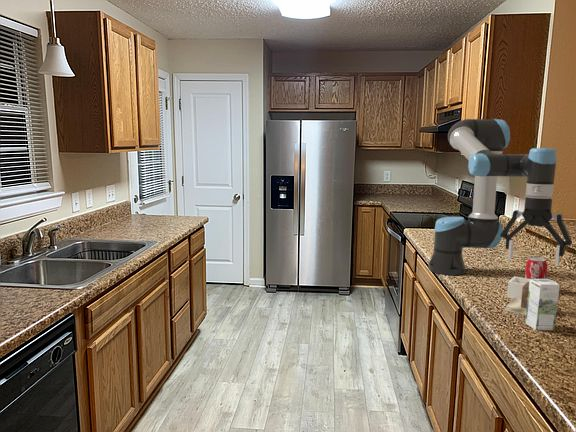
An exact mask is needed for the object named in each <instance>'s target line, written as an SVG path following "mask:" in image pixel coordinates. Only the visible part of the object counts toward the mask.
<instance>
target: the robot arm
mask: <svg viewBox="0 0 576 432" xmlns="http://www.w3.org/2000/svg"><path fill="white" fill-rule="evenodd" d="M447 140H448V141H447V142H449V145H450V146H451V147H452V149H455V150H458V151H459V152H460V153H461V154H462V155H463V157H465V158H466V159H467V161H468V167H467V168H468V171H469V174H470V175H471V176H474V185H473V199H472V201H473V202H472V212H471V213H470V214H469V215H468V218H467V219H468V220H466V219H465V218H464V217H463V216H446V217H445V216H444V217H441V218H438V219H437V220H436V221H435V224H434V225H435V226H434V241H433V252H432V254H431V258H430V260H429V262H428V270H429V271H430V272H431V273H434V274H439V275H445V276H446V275H447V276H459V275H464V274H465V273H466V265H465V264H466V263H465V261H464V258H463V257H464V256H463V248H466V249H467V248H468V249H471V248H473V249H474V248H475V249H494V248H497V246H499V244H500V243H501V241H502V238H504V239H505V249H506V250H508V253H507V254H508V255H507V260H508V261H511V260H512V259H513V256H514V255H513V254H514V242H515V239H513V237H515V235H517V234H518V233H519V232H521V230H523V229H524V228H525V227H526V226H527V225H528V226H530V227H538V228H542V227H544V228H545V229H546V230H547V231H548V232H549V234H550V235H551V236H552V237H553V239H554V240H555V241H556V242H557V245H556V249H555V250H556V251H555V261H554V267H559V266H560V261H561V259H560V257H564V256H565V248H566V246H570V245H572V244H573V240H572V238H571V236H570V234H569V230H568V229H567V227H566V225H565V222H564V221H563V220H564V219H563V217H564V216H563V214H562V213H559V214H553V213H552V207H553V199H552V197H553V196H554V195H553V194H554V187H555V186H554V185H555V183H554V182H555V175H556V168H557V167H556V166H557V149H555V148H553V147H552V148H551V147H548V148H547V147H544V148H543V147H539V148H538V147H537V148H536V147H533V148H531V149H530V150H529V151H528V152H529V153H520V154H517V153H516V154H515V153H514V154H510V153H504V149H506V148H507V147H508V146H509V144H510V141H511V131H510V126H509V125H508V123H507V122H506V121H505V120H504V119H496V118H479V119H477V118H476V119H473V118H467V119H463V120H462V119H461V120H459V121H458V122H456V123H455V124H453V125H452V126H451V128H450V129H449V130H448V133H447ZM498 177H515V178H516V177H518V178H521V177H523V178H526V186H525V187H526V189H525V196H526V197H525V198H524V209H523V211H519V210H518V209H515V210H514V211H513V212H512V215H511V218H510V220H509V221H508V223H507V224H506V226H505V227H504V228H503V223H502V222H501V221H500V220H499V217H498V215H496V214H495V212H496V197H497V183H498ZM520 217H522V218H523V219H524V221H523V222H521V223H520V224H519V225H518V226H517V227H516V228H515V229H513V230H512V231H511V232H510V233H509V231H510V230H511V228H512V227H513V226H514V224H515V222H516V221H517V219H518V218H520ZM552 219H553V220H554V221H555V222H556V223H557V226H558V227H559V230H560V232H561V234H562V236H560V234H559V233H558V231H557V230H556V229H555V228H554V226H553V225H552V224H551V222H550V221H551V220H552ZM508 233H509V234H508ZM562 237H563V238H562Z"/></svg>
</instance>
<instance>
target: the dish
mask: <svg viewBox="0 0 576 432" xmlns="http://www.w3.org/2000/svg"><path fill="white" fill-rule="evenodd" d="M527 282H530V279H527V278H525V277H520V276H513V277H512V278H511V279H509V280H508V282H507V291H506V297H507V298H511V299H513V298H518V299H522V288H523V286H524V285H525V284H526V283H527Z"/></svg>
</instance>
